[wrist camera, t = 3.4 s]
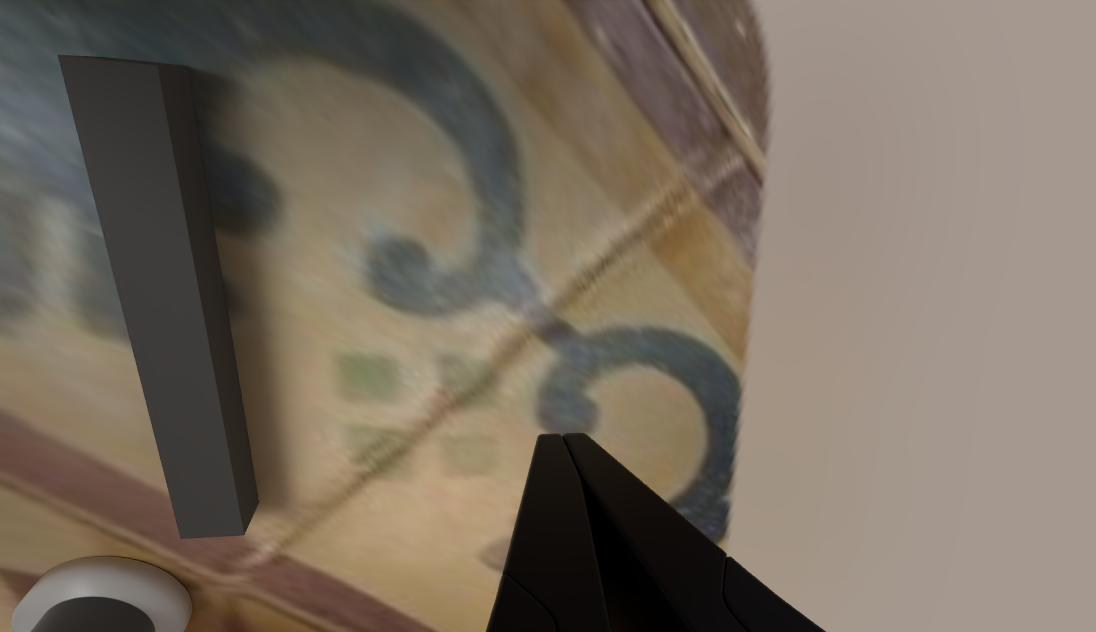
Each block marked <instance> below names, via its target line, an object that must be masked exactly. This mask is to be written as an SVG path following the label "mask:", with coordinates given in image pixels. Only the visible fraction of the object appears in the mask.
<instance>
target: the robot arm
mask: <svg viewBox="0 0 1096 632" xmlns="http://www.w3.org/2000/svg"><path fill="white" fill-rule="evenodd" d="M486 632H826V631H824V630H823V629H822V628H820V627H819V626H817V625H816V624H815V623H813V622H812V621H811V620H809V619H808V618H807V617H805V616H804V615H803V614H801V613H800V612H799V611H797V610H796V609H795V608H793V607H792V606H791V605H789V604H788V603H786V602H785V601H784V600H783V599H781V598H780V597H779V596H778V595H776V594H775V593H774V592H772V591H771V590H770V589H769V588H768V587H767V586H765V585H764V584H763V583H762V582H760V581H759V580H758V579H757V578H756V577H754V576H753V575H752V574H751V573H749V572H748V571H747V570H746V569H745V568H743V567H742V566H741V565H740V564H739V563H738V562H736V561H735V560H734V559H733V558H732V557H727V554H726V553H725V552H724V551H723V550H722V549H721V548H720V547H718V546H717V545H716V544H715V543H714V542H713V541H711V540H710V539H709V538H708V537H707V536H706V535H704V534H703V533H702V532H701V531H700V530H698V529H697V528H696V527H695V526H694V525H693V524H691V523H690V522H689V521H688V520H687V519H685V518H684V517H683V516H682V515H681V514H680V513H678V512H677V511H676V510H675V509H674V508H673V507H671V506H670V505H669V504H668V503H667V502H665V501H664V500H663V499H662V498H661V497H660V496H658V495H657V494H656V493H655V492H654V491H653V490H651V489H650V488H649V487H648V486H647V485H645V484H644V483H643V482H642V481H641V480H640V479H638V478H637V477H636V476H635V475H634V474H632V473H631V472H630V471H629V470H628V469H627V468H625V467H624V466H623V465H622V464H621V463H620V462H618V461H617V460H616V459H615V458H614V457H612V456H611V455H610V454H609V453H608V452H607V451H605V450H604V449H603V448H602V447H601V446H600V445H598V444H597V443H596V442H595V441H594V440H592V439H591V438H590V437H589V436H588V435H586V434H585V433H565V434H563V435H562V436H561V435H560V434H540V435H539V436H538V438H537V441H536V445H535V449H534V453H533V457H532V461H531V465H530V468H529V472H528V476H527V480H526V484H525V488H524V492H523V496H522V500H521V503H520V507H519V511H518V515H517V519H516V523H515V527H514V531H513V534H512V538H511V542H510V546H509V550H508V554H507V558H506V562H505V566H504V569H503V575H502V577H501V580H500V584H499V588H498V592H497V596H496V599H495V603H494V606H493V609H492V613H491V616H490V619H489V622H488V626H487V629H486Z"/></svg>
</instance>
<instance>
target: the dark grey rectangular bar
mask: <svg viewBox="0 0 1096 632" xmlns="http://www.w3.org/2000/svg"><path fill="white" fill-rule="evenodd" d="M58 58H59V62H60V66H61V70H62V73H63V77H64V81H65V85H66V89H67V93H68V97H69V101H70V105H71V109H72V113H73V117H74V121H75V125H76V129H77V132H78V136H79V140H80V144H81V148H82V152H83V156H84V160H85V164H86V168H87V172H88V176H89V180H90V184H91V188H92V191H93V195H94V199H95V203H96V207H97V211H98V215H99V219H100V223H101V227H102V231H103V235H104V239H105V243H106V247H107V251H108V254H109V258H110V262H111V266H112V270H113V274H114V278H115V282H116V286H117V290H118V294H119V298H120V302H121V306H122V310H123V313H124V317H125V321H126V325H127V329H128V333H129V337H130V341H131V345H132V349H133V353H134V357H135V361H136V365H137V369H138V372H139V376H140V380H141V384H142V388H143V392H144V396H145V400H146V404H147V408H148V412H149V416H150V420H151V424H152V428H153V431H154V435H155V439H156V443H157V447H158V451H159V455H160V459H161V463H162V467H163V471H164V475H165V479H166V483H167V487H168V490H169V494H170V498H171V502H172V506H173V510H174V514H175V518H176V522H177V526H178V530H179V534H180V538H181V539H185V538H203V537H221V536H240V535H245V532H246V530H247V528H248V526H249V523H250V521H251V519H252V517H253V514H254V512H255V510H256V508H257V505H258V503H259V500H258V494H257V488H256V481H255V475H254V469H253V463H252V457H251V451H250V445H249V439H248V433H247V427H246V420H245V414H244V408H243V402H242V396H241V390H240V384H239V378H238V372H237V366H236V360H235V353H234V347H233V341H232V335H231V329H230V323H229V317H228V311H227V305H226V299H225V293H224V286H223V280H222V274H221V268H220V262H219V256H218V250H217V244H216V238H215V232H214V226H213V219H212V213H211V207H210V201H209V195H208V189H207V183H206V177H205V171H204V165H203V159H202V152H201V146H200V140H199V134H198V128H197V122H196V116H195V110H194V104H193V98H192V92H191V85H190V79H189V73H188V67H187V66H181V65H172V64H162V63H153V62H143V61H134V60H124V59H115V58H105V57H91V56H69V55H58Z"/></svg>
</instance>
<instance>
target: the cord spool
mask: <svg viewBox="0 0 1096 632" xmlns="http://www.w3.org/2000/svg"><path fill="white" fill-rule="evenodd" d="M191 615H192V601H191V598H190V596H189V594H188V592H187V590H186V589H185V588H184V586H183V585H182V584H181V583H180V582H179V581H178V580H177V579H175V578H174V577H173V576H171V575H170V574H169V573H167V572H165V571H163V570H161V569H160V568H157V567H155V566H153V565H150V564H147V563H144V562H141V561H137V560H133V559H128V558H121V557H109V556H101V557H87V558H81V559H76V560H72V561H69V562H66V563H63V564H61V565H58V566H56V567H55V568H53V569H51V570H49V571H48V572H47V573H45V574H44V575H43V576H42V577H41V578H40V579H39V580H38V581H37V582H36V584H35V585H34V586H33V587H32V588H31V590H30V591H29V592H28V593H27V594H26V596H25V597H24V598H23V599H22V601H21V602H20V603H19V604H18V605H17V607H16V609H15V610H14V612H13V615H12V618H11V630H12V632H184V631H185V629H186V627H187V625H188V623H189V621H190V619H191Z"/></svg>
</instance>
